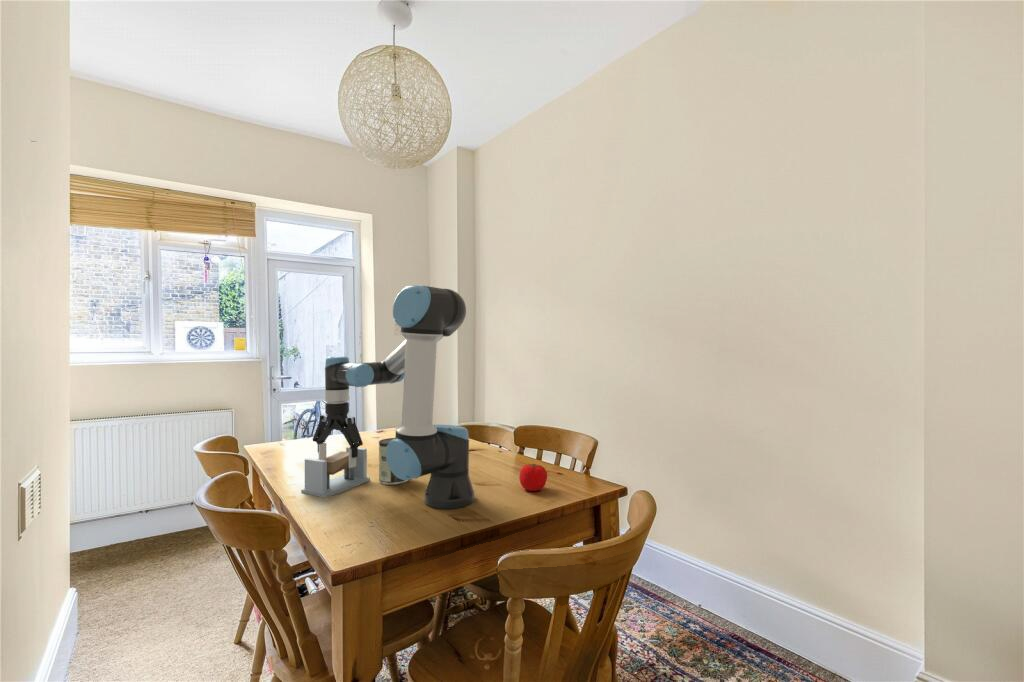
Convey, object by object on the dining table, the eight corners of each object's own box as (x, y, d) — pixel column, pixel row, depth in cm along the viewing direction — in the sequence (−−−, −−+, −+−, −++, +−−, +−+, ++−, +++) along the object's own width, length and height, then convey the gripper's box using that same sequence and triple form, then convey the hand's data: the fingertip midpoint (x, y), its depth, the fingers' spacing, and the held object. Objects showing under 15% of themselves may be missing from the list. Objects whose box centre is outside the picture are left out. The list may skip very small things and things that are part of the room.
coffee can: (411, 476, 168) (411, 437, 168) (404, 485, 158) (404, 443, 158) (383, 476, 168) (383, 437, 168) (374, 484, 158) (374, 443, 158)
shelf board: (355, 463, 163) (355, 452, 163) (332, 474, 149) (332, 462, 149) (340, 462, 164) (340, 451, 164) (317, 473, 150) (317, 461, 150)
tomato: (532, 496, 147) (532, 469, 147) (512, 488, 155) (512, 463, 155) (553, 490, 153) (553, 464, 153) (532, 482, 161) (532, 458, 161)
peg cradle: (370, 480, 163) (370, 449, 163) (326, 497, 145) (326, 462, 145) (346, 476, 168) (346, 446, 167) (301, 492, 150) (301, 458, 150)
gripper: (373, 402, 154) (373, 466, 154) (319, 398, 165) (319, 458, 165) (357, 405, 148) (357, 472, 148) (301, 401, 158) (301, 463, 158)
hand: (337, 464), depth 156 cm, fingers open, 13 cm apart
